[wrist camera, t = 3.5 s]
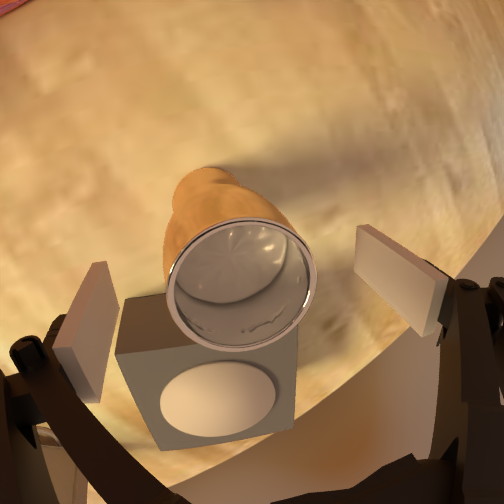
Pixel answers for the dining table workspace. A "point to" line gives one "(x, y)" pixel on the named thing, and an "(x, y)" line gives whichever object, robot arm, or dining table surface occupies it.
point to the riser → (202, 381)
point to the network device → (64, 473)
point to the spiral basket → (9, 5)
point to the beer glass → (233, 265)
